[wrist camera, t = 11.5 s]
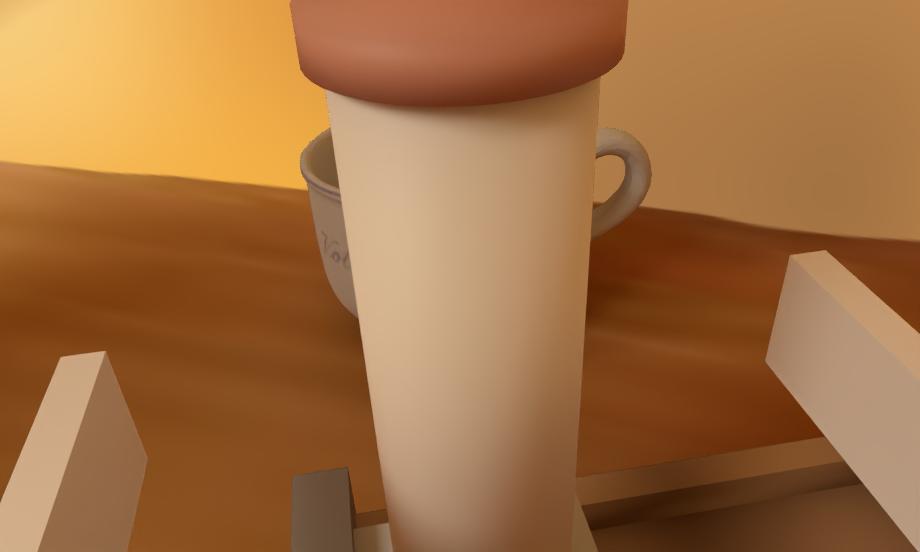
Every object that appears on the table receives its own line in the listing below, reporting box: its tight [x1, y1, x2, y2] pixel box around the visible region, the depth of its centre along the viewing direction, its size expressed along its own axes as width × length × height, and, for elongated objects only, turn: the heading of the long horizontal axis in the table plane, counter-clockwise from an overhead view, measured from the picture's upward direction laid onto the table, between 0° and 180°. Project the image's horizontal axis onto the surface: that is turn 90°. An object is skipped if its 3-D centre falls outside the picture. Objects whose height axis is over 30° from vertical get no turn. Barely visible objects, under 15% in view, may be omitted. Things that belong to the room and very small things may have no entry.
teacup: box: [300, 127, 652, 319], centre depth 32 cm, size 14×11×8 cm
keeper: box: [290, 0, 628, 552], centre depth 15 cm, size 6×5×16 cm
